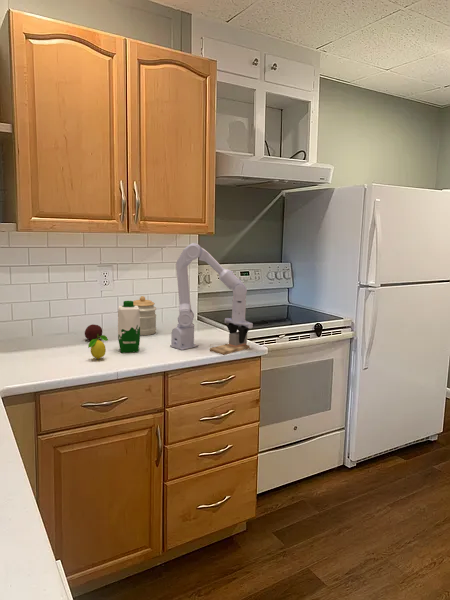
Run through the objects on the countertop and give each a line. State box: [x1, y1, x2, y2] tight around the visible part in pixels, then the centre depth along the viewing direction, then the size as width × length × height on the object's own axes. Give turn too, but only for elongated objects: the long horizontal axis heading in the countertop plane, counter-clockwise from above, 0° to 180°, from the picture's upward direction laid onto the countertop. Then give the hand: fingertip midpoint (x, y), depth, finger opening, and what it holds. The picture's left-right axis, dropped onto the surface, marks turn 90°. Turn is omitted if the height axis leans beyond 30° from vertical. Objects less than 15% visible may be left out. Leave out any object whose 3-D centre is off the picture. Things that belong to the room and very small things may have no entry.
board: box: [209, 343, 251, 356], centre depth 198 cm, size 16×8×1 cm, turn 136°
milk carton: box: [117, 300, 141, 354], centre depth 191 cm, size 9×9×20 cm
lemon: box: [88, 334, 109, 360], centre depth 178 cm, size 7×6×10 cm
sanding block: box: [228, 331, 248, 347], centre depth 201 cm, size 7×4×5 cm, turn 136°
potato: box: [84, 323, 103, 341], centre depth 207 cm, size 7×8×7 cm
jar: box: [132, 295, 157, 336], centre depth 222 cm, size 13×13×18 cm
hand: (237, 341), depth 201 cm, fingers closed on sanding block, 4 cm apart
